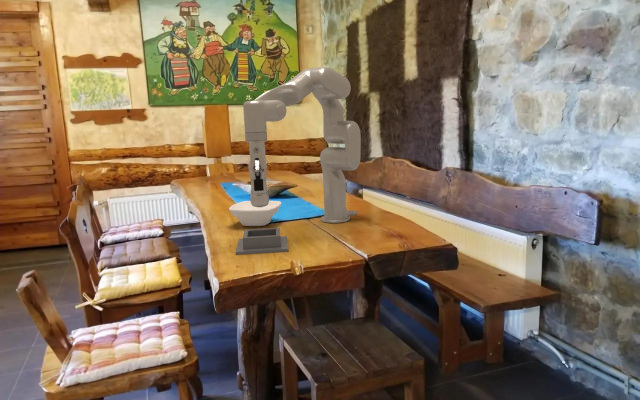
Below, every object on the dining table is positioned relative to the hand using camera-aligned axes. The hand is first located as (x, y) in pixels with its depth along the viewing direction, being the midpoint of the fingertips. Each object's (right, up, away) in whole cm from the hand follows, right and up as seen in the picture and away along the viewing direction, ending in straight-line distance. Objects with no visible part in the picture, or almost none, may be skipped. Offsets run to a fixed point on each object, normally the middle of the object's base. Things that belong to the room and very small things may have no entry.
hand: (259, 188), depth 168 cm
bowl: (-6, -15, +37) cm, 40 cm away
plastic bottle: (0, -7, +1) cm, 7 cm away
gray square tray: (+1, -21, +4) cm, 21 cm away
